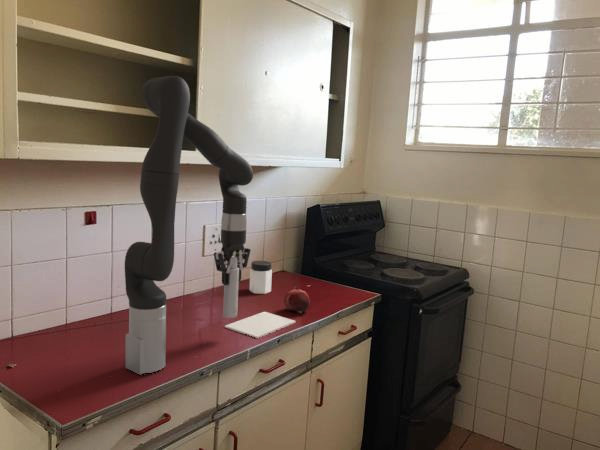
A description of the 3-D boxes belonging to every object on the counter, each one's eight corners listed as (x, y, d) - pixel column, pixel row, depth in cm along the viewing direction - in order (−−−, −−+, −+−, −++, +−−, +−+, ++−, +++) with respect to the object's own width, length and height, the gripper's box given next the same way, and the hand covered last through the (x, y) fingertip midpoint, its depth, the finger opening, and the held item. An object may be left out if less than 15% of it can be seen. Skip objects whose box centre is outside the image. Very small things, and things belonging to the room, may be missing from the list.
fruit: (304, 317, 178) (306, 289, 177) (279, 312, 181) (281, 286, 180) (312, 309, 187) (314, 283, 185) (288, 305, 190) (290, 280, 188)
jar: (274, 293, 205) (275, 264, 203) (255, 295, 201) (256, 265, 199) (264, 287, 213) (265, 259, 211) (246, 289, 209) (247, 261, 207)
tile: (257, 338, 156) (257, 336, 156) (224, 327, 164) (224, 325, 164) (295, 322, 172) (295, 320, 172) (264, 313, 180) (264, 311, 180)
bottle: (232, 318, 152) (235, 254, 149) (220, 316, 153) (222, 252, 151) (239, 315, 156) (242, 251, 153) (227, 312, 157) (229, 250, 155)
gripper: (225, 231, 143) (223, 290, 145) (258, 227, 154) (256, 281, 157) (207, 228, 147) (205, 285, 150) (240, 224, 159) (238, 277, 161)
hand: (231, 283), depth 153 cm, fingers closed on bottle, 4 cm apart
